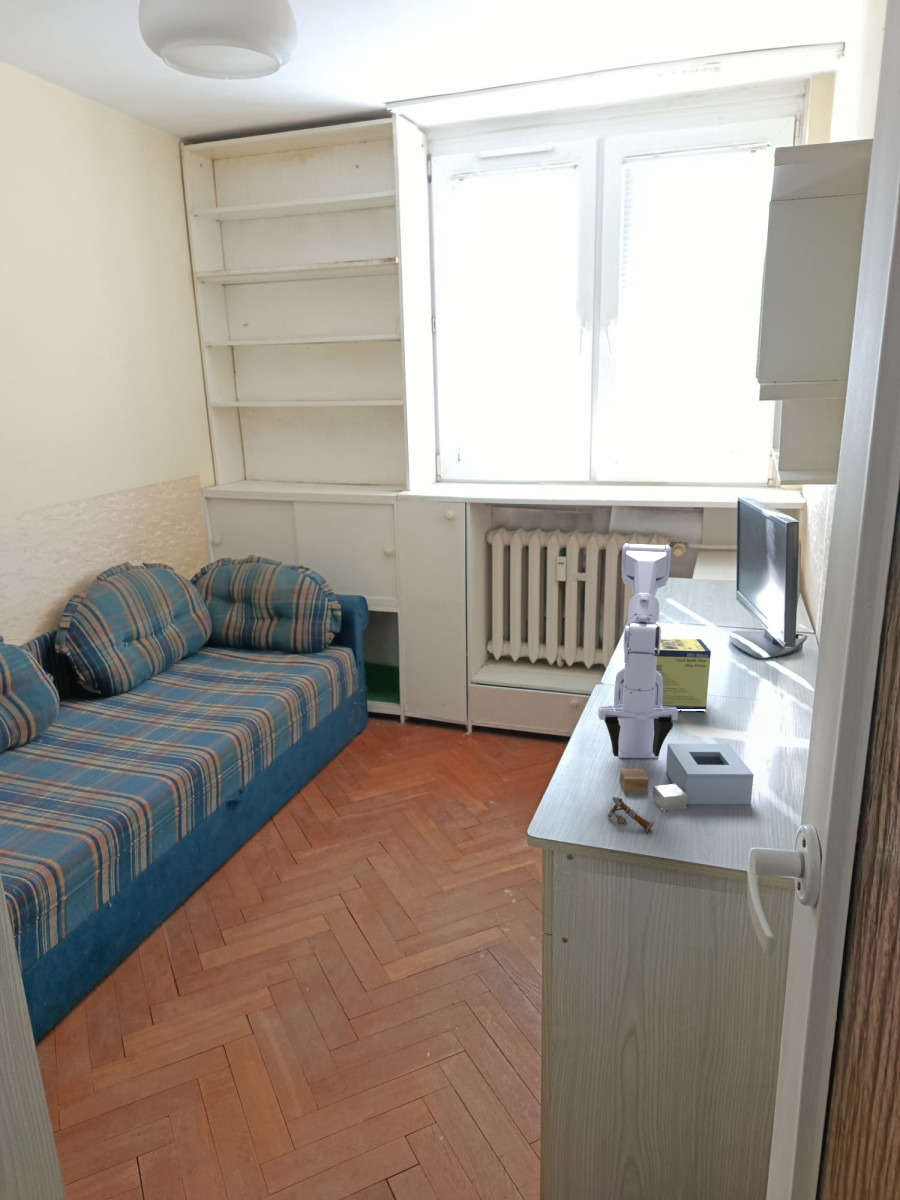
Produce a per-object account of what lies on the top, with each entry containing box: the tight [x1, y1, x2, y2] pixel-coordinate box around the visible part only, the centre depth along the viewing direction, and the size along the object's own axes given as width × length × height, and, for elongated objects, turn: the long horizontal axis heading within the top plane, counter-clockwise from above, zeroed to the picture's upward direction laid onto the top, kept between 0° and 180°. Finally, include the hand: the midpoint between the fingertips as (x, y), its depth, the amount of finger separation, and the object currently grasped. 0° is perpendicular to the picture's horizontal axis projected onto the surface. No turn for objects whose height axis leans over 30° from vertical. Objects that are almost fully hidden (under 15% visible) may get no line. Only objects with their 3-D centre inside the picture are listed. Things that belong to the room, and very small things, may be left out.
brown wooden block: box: [619, 768, 649, 794], centre depth 156 cm, size 4×4×3 cm
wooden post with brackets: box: [607, 796, 655, 833], centre depth 142 cm, size 2×8×4 cm, turn 53°
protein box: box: [655, 638, 712, 710], centre depth 200 cm, size 10×16×16 cm
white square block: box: [651, 783, 688, 811], centre depth 149 cm, size 4×4×3 cm
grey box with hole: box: [665, 743, 755, 806], centre depth 156 cm, size 14×12×6 cm
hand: (635, 754), depth 155 cm, fingers open, 7 cm apart
